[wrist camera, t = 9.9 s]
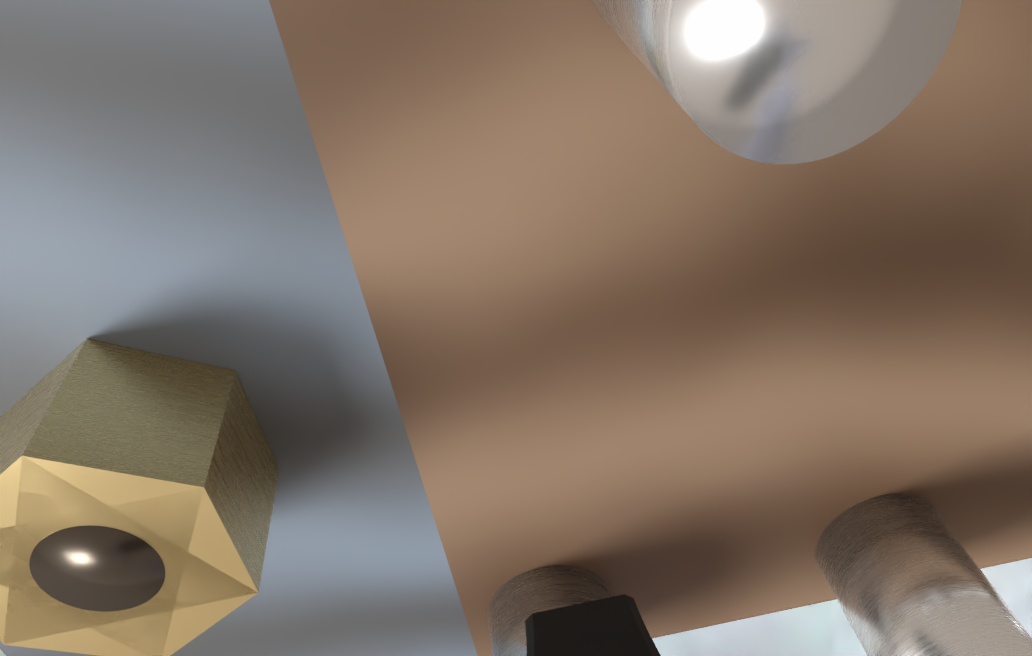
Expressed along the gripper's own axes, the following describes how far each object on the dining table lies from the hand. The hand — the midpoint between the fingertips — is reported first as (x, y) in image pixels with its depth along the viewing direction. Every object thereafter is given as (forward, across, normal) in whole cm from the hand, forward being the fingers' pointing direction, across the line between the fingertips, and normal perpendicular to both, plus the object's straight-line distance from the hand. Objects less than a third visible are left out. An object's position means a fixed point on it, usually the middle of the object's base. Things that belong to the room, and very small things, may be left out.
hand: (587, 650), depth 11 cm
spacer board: (+7, -2, 0) cm, 7 cm away
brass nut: (+6, +7, 0) cm, 9 cm away
